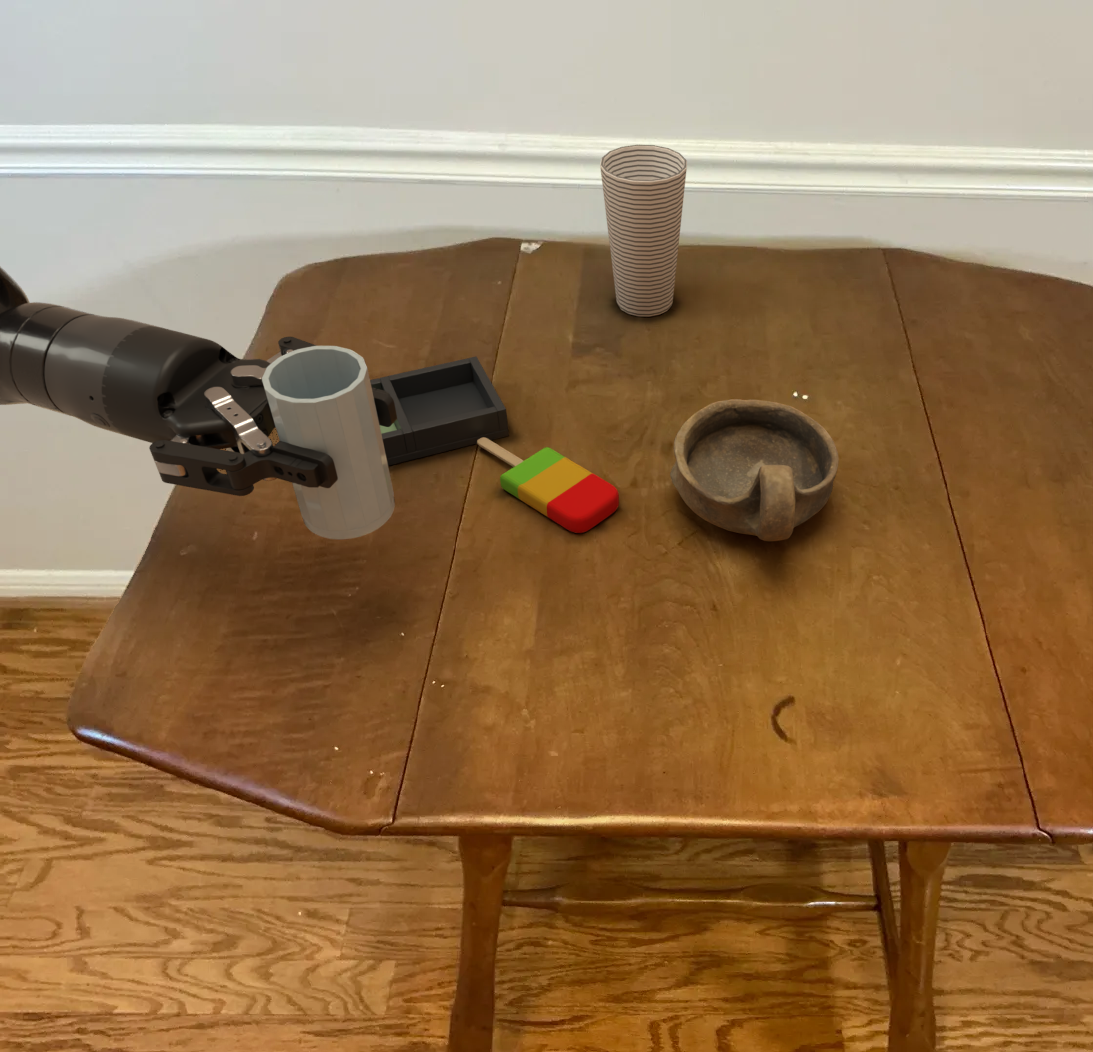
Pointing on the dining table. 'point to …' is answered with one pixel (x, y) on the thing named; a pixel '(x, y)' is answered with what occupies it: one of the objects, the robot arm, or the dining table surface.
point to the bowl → (754, 467)
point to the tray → (441, 410)
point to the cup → (644, 224)
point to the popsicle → (557, 487)
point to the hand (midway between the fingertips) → (362, 440)
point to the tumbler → (333, 437)
